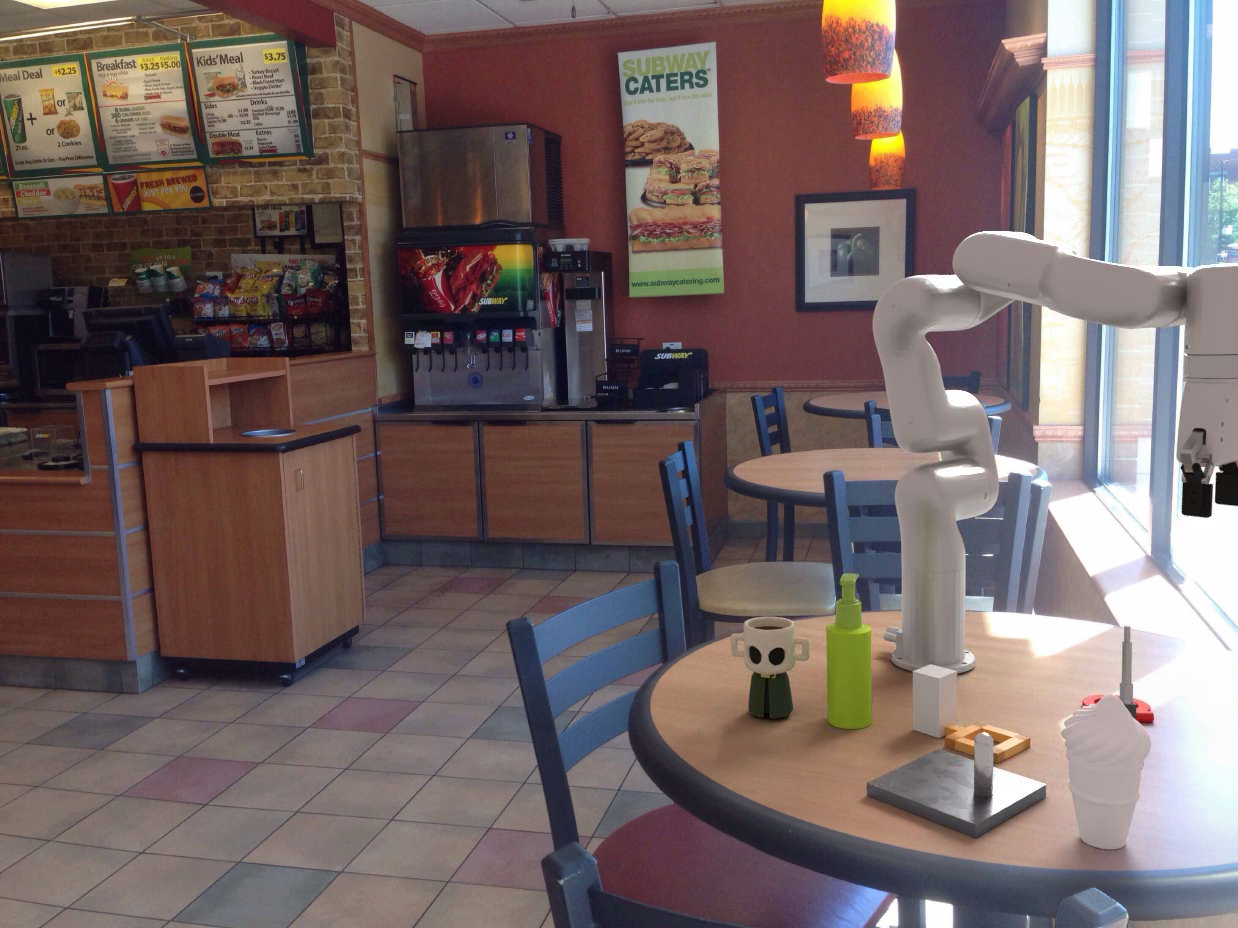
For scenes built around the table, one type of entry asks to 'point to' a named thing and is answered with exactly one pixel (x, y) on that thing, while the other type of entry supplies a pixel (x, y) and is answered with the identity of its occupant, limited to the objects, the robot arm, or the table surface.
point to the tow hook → (1127, 686)
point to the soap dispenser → (849, 662)
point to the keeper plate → (958, 789)
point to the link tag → (954, 715)
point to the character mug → (770, 662)
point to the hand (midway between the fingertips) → (1213, 510)
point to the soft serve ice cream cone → (1105, 769)
